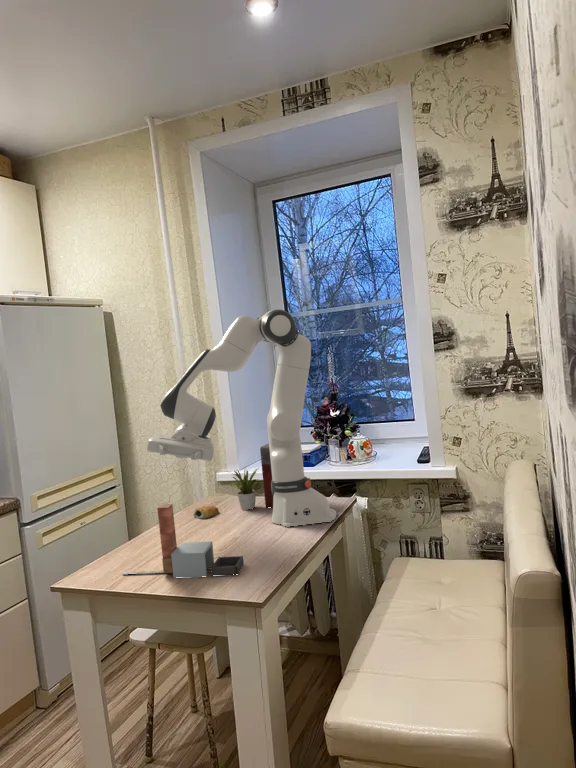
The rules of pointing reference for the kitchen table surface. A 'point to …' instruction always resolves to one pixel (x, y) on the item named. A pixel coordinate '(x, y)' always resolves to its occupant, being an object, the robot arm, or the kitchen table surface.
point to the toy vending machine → (267, 475)
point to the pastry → (205, 512)
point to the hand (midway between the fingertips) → (178, 454)
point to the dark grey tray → (227, 565)
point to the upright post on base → (167, 535)
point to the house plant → (246, 490)
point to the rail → (148, 572)
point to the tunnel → (192, 559)
